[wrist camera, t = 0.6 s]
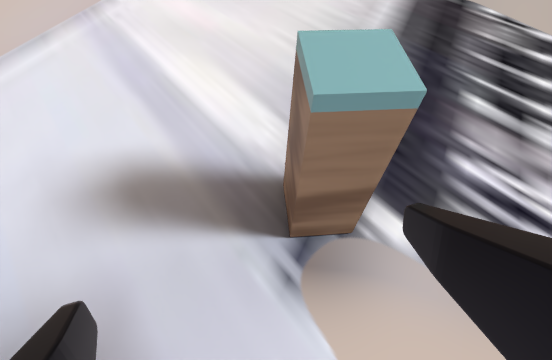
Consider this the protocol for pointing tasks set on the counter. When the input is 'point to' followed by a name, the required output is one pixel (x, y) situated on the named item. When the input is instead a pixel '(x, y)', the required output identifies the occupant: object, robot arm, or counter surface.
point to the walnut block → (344, 124)
